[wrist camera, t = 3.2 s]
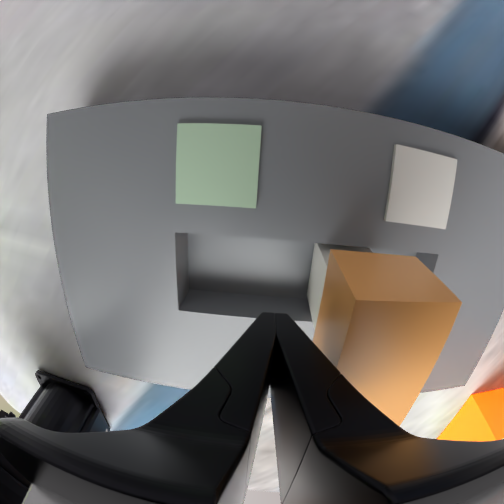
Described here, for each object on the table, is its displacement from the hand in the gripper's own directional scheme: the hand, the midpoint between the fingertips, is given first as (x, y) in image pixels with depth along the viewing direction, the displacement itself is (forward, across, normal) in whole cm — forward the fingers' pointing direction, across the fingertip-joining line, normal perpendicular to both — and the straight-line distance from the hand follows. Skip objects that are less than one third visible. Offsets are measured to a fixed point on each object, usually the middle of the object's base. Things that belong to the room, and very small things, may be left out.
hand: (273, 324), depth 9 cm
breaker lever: (+5, -3, 0) cm, 6 cm away
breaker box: (+6, -2, 0) cm, 6 cm away
